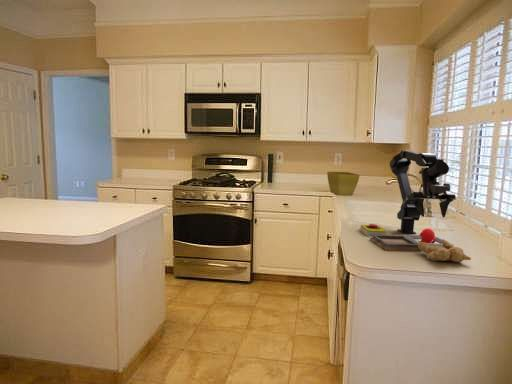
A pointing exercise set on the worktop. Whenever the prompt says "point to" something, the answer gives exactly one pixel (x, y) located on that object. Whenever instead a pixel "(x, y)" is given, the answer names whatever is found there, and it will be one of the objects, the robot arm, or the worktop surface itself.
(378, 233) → the emergency button
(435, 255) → the ginger root
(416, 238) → the tray
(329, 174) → the flower pot
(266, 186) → the worktop surface
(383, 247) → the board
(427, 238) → the red rounded lump
